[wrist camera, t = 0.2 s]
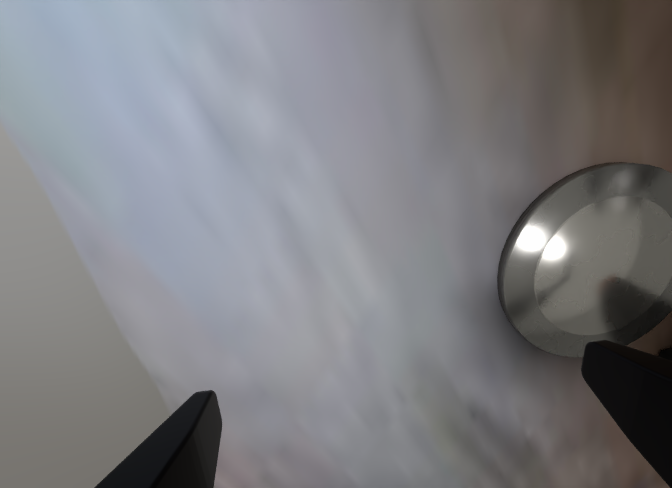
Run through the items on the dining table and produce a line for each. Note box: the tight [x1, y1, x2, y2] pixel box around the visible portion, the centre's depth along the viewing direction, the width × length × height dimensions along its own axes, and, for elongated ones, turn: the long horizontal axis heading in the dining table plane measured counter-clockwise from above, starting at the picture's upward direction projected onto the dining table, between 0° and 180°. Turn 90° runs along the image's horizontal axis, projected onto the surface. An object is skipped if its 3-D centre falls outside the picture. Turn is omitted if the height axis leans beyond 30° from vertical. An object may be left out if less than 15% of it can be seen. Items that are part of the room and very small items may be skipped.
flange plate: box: [497, 162, 672, 357], centre depth 24 cm, size 14×14×1 cm
